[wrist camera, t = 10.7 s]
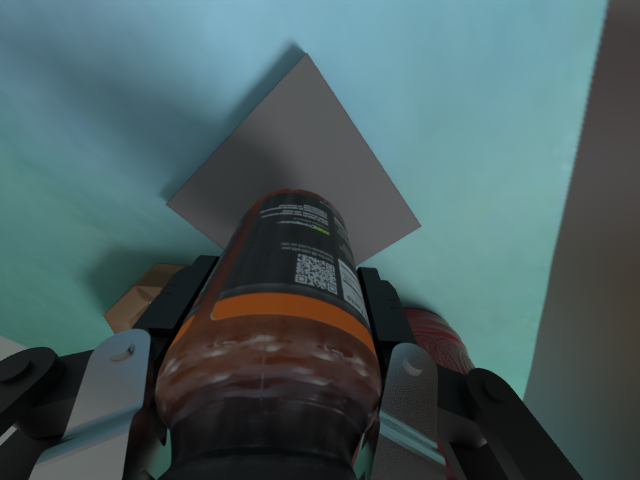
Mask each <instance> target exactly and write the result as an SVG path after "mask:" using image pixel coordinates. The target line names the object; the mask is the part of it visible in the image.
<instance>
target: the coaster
mask: <svg viewBox="0 0 640 480" xmlns="http://www.w3.org/2000/svg"><path fill="white" fill-rule="evenodd" d="M282 189H301V190H305V191H310V192H312V193H315V194H318V195H319V196H321V197H323V198H324V199H326V200H327V201H329V202H330V203H331V204H332V205H333V206H334V207H335V208H336V209H337V210H338V212H339V213H340V215H341V217H342V219H343V221H344V223H345V226H346V229H347V233H348V237H349V241H350V245H351V249H352V254H353V258H354V262H355V266H357V265H358V264H360V263H362V262H363V261H365V260H366V259H368V258H370V257H371V256H373V255H375V254H376V253H378V252H380V251H381V250H383V249H385V248H386V247H388V246H390V245H391V244H393V243H395V242H396V241H398V240H400V239H401V238H403V237H405V236H406V235H408V234H410V233H411V232H413V231H414V230H416V229H418V228H419V227H421V225H420V223H419V222H418V220H417V219H416V217H415V216H414V214H413V213H412V211H411V209H410V208H409V206H408V205H407V203H406V202H405V200H404V199H403V197H402V196H401V194H400V193H399V191H398V190H397V188H396V187H395V185H394V184H393V182H392V181H391V179H390V178H389V176H388V175H387V173H386V172H385V170H384V169H383V167H382V166H381V164H380V163H379V161H378V159H377V158H376V156H375V155H374V153H373V152H372V150H371V149H370V147H369V146H368V144H367V143H366V141H365V140H364V138H363V137H362V135H361V134H360V132H359V131H358V129H357V128H356V126H355V125H354V123H353V122H352V120H351V119H350V117H349V116H348V114H347V113H346V111H345V110H344V108H343V106H342V105H341V103H340V102H339V100H338V99H337V97H336V96H335V94H334V93H333V91H332V90H331V88H330V87H329V85H328V84H327V82H326V81H325V79H324V78H323V76H322V75H321V73H320V72H319V70H318V69H317V67H316V66H315V64H314V63H313V61H312V60H311V58H310V56H309V55H308V53H306V54H305V55H304V56H303V57H302V58H301V60H300V61H299V62H298V63H297V64H296V65H295V66H294V67H293V68H292V69H291V70H290V71H289V72H288V74H287V75H286V76H285V77H284V78H283V79H282V80H281V81H280V82H279V83H278V84H277V85H276V86H275V87H274V89H273V90H272V91H271V92H270V93H269V94H268V95H267V96H266V97H265V98H264V99H263V100H262V101H261V103H260V104H259V105H258V106H257V107H256V108H255V109H254V110H253V111H252V112H251V113H250V114H249V115H248V116H247V118H246V119H245V120H244V121H243V122H242V123H241V124H240V125H239V126H238V127H237V128H236V129H235V130H234V131H233V133H232V134H231V135H230V136H229V137H228V138H227V139H226V140H225V141H224V142H223V143H222V144H221V145H220V147H219V148H218V149H217V150H216V151H215V152H214V153H213V154H212V155H211V156H210V157H209V158H208V159H207V160H206V162H205V163H204V164H203V165H202V166H201V167H200V168H199V169H198V170H197V171H196V172H195V173H194V174H193V176H192V177H191V178H190V179H189V180H188V181H187V182H186V183H185V184H184V185H183V186H182V187H181V188H180V189H179V191H178V192H177V193H176V194H175V195H174V196H173V197H172V198H171V199H170V200H169V201H168V202H167V203H166V204H165V205H167V206H168V207H169V208H171V209H172V210H173V211H175V212H176V213H177V214H178V215H180V216H181V217H182V218H184V219H185V220H186V221H187V222H189V223H190V224H191V225H193V226H194V227H195V228H196V229H198V230H199V231H200V232H202V233H203V234H204V235H205V236H207V237H208V238H209V239H211V240H212V241H213V242H214V243H216V244H217V245H218V246H220V247H221V248H222V249H223V250H225V248H226V246H227V244H228V243H229V241H230V239H231V237H232V235H233V233H234V232H235V230H236V228H237V226H238V225H239V223H240V221H241V219H242V218H243V216H244V214H245V213H246V212H247V210H248V209H249V208H250V206H251V205H252V204H253V203H255V202H256V201H257V200H258V199H260V198H261V197H263V196H265V195H267V194H269V193H271V192H274V191H278V190H282Z"/></svg>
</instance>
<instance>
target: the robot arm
mask: <svg viewBox="0 0 640 480" xmlns="http://www.w3.org/2000/svg"><path fill="white" fill-rule="evenodd" d="M219 258H220V257H219V256H206V255H200V256H199V257H198V258H197V259H196V261H195V262H194V264H193V265H192V266H191V267H189V266H185V267H184V268H182V269H181V270H179V271H178V272H176V273H175V274H174V275H173V276H172V277H171V278H170V280H169V281H168V282H167V284H166V286H164V287H163V289H162V290H161V291H160V294H159V295H157V296H156V297H155V299H154V300H153V301H152V303H151V304H150V305H149V306H148V308H147V309H146V310H145V311H144V313H143V314H142V315H141V316H140V318H139V319H138V320H137V322H136V323H135V324H134V325H133V327H132V328H131V329H129V330H125V331H122V332H119V333H117V334H114V335H113V336H111V337H109V338H107V339H106V340H105V341H103V342H102V343H101V344H100V345H99V346H98V347H97V348H96V349H94V350H90V351H85V352H80V353H76V354H71V355H67V356H62V357H59V356H58V355H57V354H56V353H55V352H54V351H53V350H52V349H50V348H47V347H36V348H30V349H27V350H23V351H21V352H18V353H16V354H14V355H11V356H9V357H7V358H5V359H3V360H2V361H0V437H1V436H2V435H3V434H4V433H5V432H6V431H7V430H8V429H9V428H10V427H11V426H13V427H15V428H16V429H17V430H16V431H15V432H14V433H13V434H12V435H11V436H10V437H9V438H8V439H7V440H6V441H5V442H4V443H3V444H2V445H1V446H0V480H157V479H158V478H159V477H160V476H161V475H162V474H163V473H164V472H166V471H167V470H168V469H169V467H170V465H171V439H170V430H169V429H168V428H167V427H166V425H165V424H164V423H163V422H162V421H161V419H160V418H159V416H158V415H157V409H156V403H155V387H156V382H157V377H158V373H159V370H160V367H161V365H162V363H163V360H164V358H165V355H166V353H167V351H168V349H169V347H170V346H171V344H172V342H173V341H174V339H175V337H176V335H177V334H178V332H179V330H180V329H181V326H182V324H183V321H184V319H185V318H186V316H187V315H188V313H189V311H190V310H191V308H192V306H193V304H194V302H195V301H196V299H197V297H198V296H199V294H200V292H201V290H202V289H203V287H204V285H205V283H206V282H207V280H208V278H209V276H210V274H211V273H212V271H213V269H214V267H215V265H216V264H217V262H218V260H219ZM357 274H358V279H359V283H360V287H361V291H362V296H363V300H364V304H365V308H366V312H367V316H368V320H369V325H370V329H371V333H372V337H373V343H374V347H375V351H376V355H377V359H378V363H379V367H380V373H381V378H382V393H381V398H380V401H379V405H378V409H377V414H376V418H375V421H374V422H373V424H372V426H371V427H370V428H369V429H368V430H367V431H366V432H365V433H364V434H363V435H362V439H361V444H360V448H359V451H358V455H357V458H356V461H355V464H354V467H353V470H354V472H355V474H356V477H357V479H358V480H447V471H446V463H445V459H444V456H443V454H442V453H441V452H440V451H439V450H438V447H437V437H438V439H439V441H440V443H441V446H442V448H443V450H444V452H445V454H446V457H447V459H448V461H449V463H450V465H451V467H452V470H453V472H454V474H455V476H456V478H457V480H583V478H582V477H581V476H580V475H579V473H578V472H577V471H576V470H575V468H574V467H573V466H572V464H571V463H570V462H569V461H568V459H567V458H566V457H565V456H564V454H563V453H562V452H561V450H560V449H559V448H558V447H557V445H556V444H555V443H554V442H553V440H552V439H551V438H550V436H549V435H548V434H547V432H546V431H545V430H544V429H543V427H542V426H541V425H540V424H539V422H538V421H537V420H536V418H535V417H534V416H533V415H532V413H531V412H530V411H529V409H528V408H527V407H526V406H525V404H524V403H523V402H522V400H521V399H520V398H519V397H518V395H517V394H516V393H515V391H514V390H513V389H512V388H511V387H510V385H509V384H508V383H507V382H506V381H504V380H503V379H502V378H501V377H499V376H498V375H496V374H495V373H493V372H491V371H489V370H486V369H482V368H474V369H471V370H470V371H469V372H468V373H467V374H466V375H465V374H462V373H460V372H457V371H454V370H451V369H449V368H446V367H443V366H441V365H438V364H437V363H435V362H434V360H433V359H432V357H431V356H430V355H429V354H428V353H427V352H426V351H425V350H424V349H422V348H421V347H419V346H418V344H417V342H416V340H415V337H414V335H413V332H412V330H411V327H410V325H409V322H408V320H407V317H406V315H405V312H404V310H403V307H402V305H401V302H400V301H399V297H398V295H397V292H396V290H395V288H394V287H393V286H392V285H391V284H390V283H389V282H388V281H386V280H380V277H379V274H378V271H377V269H376V268H367V267H359V268H358V270H357Z"/></svg>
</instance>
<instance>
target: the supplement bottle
mask: <svg viewBox="0 0 640 480" xmlns="http://www.w3.org/2000/svg"><path fill="white" fill-rule="evenodd" d="M381 393H382V378H381V373H380V367H379V363H378V359H377V355H376V351H375V347H374V343H373V337H372V333H371V329H370V325H369V320H368V316H367V312H366V308H365V304H364V300H363V296H362V291H361V287H360V283H359V279H358V274H357V270H356V267H355V262H354V258H353V254H352V249H351V245H350V241H349V237H348V233H347V229H346V226H345V223H344V221H343V219H342V217H341V215H340V213H339V212H338V210H337V209H336V208H335V207H334V206H333V205H332V204H331V203H330V202H329V201H327V200H326V199H324V198H323V197H321V196H319V195H318V194H315V193H312V192H310V191H305V190H301V189H282V190H278V191H274V192H271V193H269V194H267V195H265V196H263V197H261V198H260V199H258V200H257V201H256V202H255V203H253V204H252V205H251V206H250V208H249V209H248V210H247V212H246V213H245V214H244V216H243V218H242V219H241V221H240V223H239V225H238V226H237V228H236V230H235V232H234V233H233V235H232V237H231V239H230V241H229V243H228V244H227V246H226V248H225V250H224V251H223V253H222V255H221V256H220V258H219V260H218V262H217V264H216V265H215V267H214V269H213V271H212V273H211V274H210V276H209V278H208V280H207V282H206V283H205V285H204V287H203V289H202V290H201V292H200V294H199V296H198V297H197V299H196V301H195V302H194V304H193V306H192V308H191V310H190V311H189V313H188V315H187V316H186V318H185V319H184V321H183V324H182V326H181V329H180V330H179V332H178V334H177V335H176V337H175V339H174V341H173V342H172V344H171V346H170V347H169V349H168V351H167V353H166V355H165V358H164V360H163V363H162V365H161V367H160V370H159V373H158V377H157V382H156V387H155V403H156V409H157V415H158V416H159V418H160V419H161V421H162V422H163V423H164V424H165V425H166V427H167V428H168V429H169V430H170V439H171V465H170V467H169V469H168V470H167V471H166V472H164V473H163V474H162V475H161V476H160V477H159V478H158V479H157V480H358V479H357V477H356V474H355V472H354V470H353V465H352V460H353V455H354V453H355V451H356V448H357V446H358V444H359V442H360V440H361V437H362V435H363V434H364V433H365V432H366V431H367V430H368V429H369V428H370V427H371V426H372V424H373V422H374V421H375V418H376V414H377V409H378V405H379V401H380V398H381Z"/></svg>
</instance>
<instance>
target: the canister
mask: <svg viewBox="0 0 640 480" xmlns="http://www.w3.org/2000/svg"><path fill="white" fill-rule="evenodd" d="M403 310H404V312H405V315H406V317H407V320H408V322H409V325H410V327H411V330H412V332H413V335H414V337H415V340H416V342H417V344H418V346H419V347H421V348H422V349H424V350H425V351H426V352H427V353H428V354H429V355H430V356H431V357H432V359H433V360H434V362H435V363H437V364H438V365H441V366H443V367H446V368H449V369H451V370H454V371H457V372H460V373H462V374H465V375H466V374H467V373H468V372H469V371H470V370H471V369H474V368H475V367H474V365H473V363H472V361H471V360H470V358H469V356H468V352H467V349H466V347H465V345H464V344H463V342H462V340H461V338H460V337H459V335H458V334H457V333H456V332H455V331H454V330H453V329H452V328H451V327H450V325H449V324H448V323H447V322H446V321H445V320H444V319H442V318H441V317H439V316H438V315H435V314H433V313H430V312H427V311H423V310H418V309H403ZM361 439H362V437H361ZM360 444H361V440H360V442H359V444H358V446H357V448H356V451H355V453H354V455H353V460H352V465H353V467H354V464H355V461H356V458H357V455H358V451H359V448H360ZM437 447H438V450H439V451H440V452H441V453H442V454H443V456H444V459H445V463H446V471H447V480H457V478H456V476H455V474H454V472H453V470H452V467H451V465H450V463H449V461H448V459H447V457H446V454H445V452H444V450H443V448H442V446H441V443H440V441H439V439H438V437H437Z"/></svg>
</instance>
